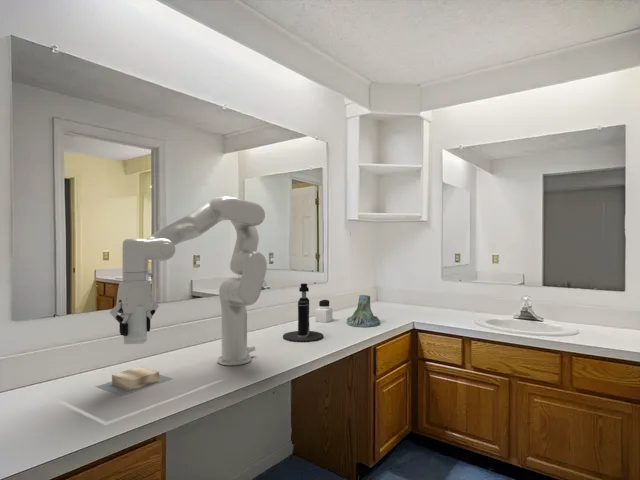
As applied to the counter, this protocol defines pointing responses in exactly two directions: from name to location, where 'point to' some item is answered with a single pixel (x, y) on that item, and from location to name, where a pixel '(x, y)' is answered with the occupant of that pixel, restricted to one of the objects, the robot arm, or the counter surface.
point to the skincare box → (137, 327)
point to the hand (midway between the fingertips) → (135, 332)
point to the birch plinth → (135, 378)
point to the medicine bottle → (324, 312)
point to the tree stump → (363, 314)
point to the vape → (303, 322)
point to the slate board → (122, 391)
